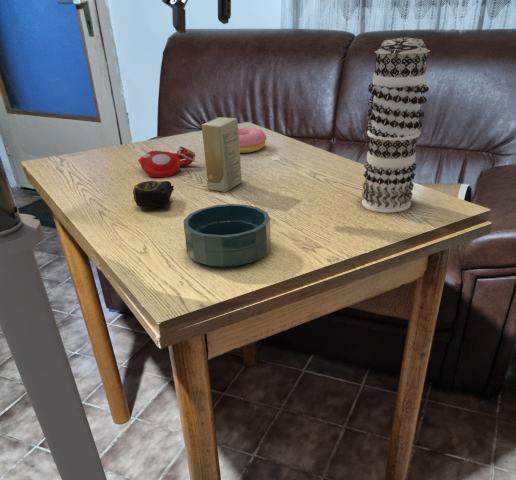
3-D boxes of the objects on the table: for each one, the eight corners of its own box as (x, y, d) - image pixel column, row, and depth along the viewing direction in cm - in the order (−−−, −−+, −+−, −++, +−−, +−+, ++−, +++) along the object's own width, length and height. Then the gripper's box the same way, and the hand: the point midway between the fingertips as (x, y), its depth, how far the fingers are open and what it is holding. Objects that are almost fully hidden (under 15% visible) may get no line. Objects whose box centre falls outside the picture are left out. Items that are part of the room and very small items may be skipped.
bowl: (189, 274, 72) (184, 240, 69) (186, 238, 82) (182, 208, 79) (276, 265, 73) (275, 231, 70) (263, 231, 83) (262, 200, 80)
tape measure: (170, 211, 92) (167, 190, 90) (132, 212, 92) (128, 192, 90) (175, 198, 97) (172, 178, 95) (139, 199, 97) (135, 179, 95)
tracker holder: (164, 175, 105) (127, 158, 108) (167, 192, 109) (130, 175, 112) (200, 147, 112) (163, 131, 115) (201, 164, 115) (166, 149, 118)
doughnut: (217, 145, 128) (216, 127, 125) (260, 140, 129) (260, 123, 127) (226, 156, 119) (224, 137, 116) (271, 151, 121) (271, 133, 118)
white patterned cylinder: (369, 216, 86) (385, 44, 72) (352, 197, 94) (363, 38, 79) (421, 210, 87) (446, 39, 73) (400, 192, 95) (419, 34, 80)
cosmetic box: (224, 180, 105) (219, 116, 98) (242, 182, 103) (238, 117, 96) (206, 190, 100) (200, 123, 93) (225, 193, 98) (219, 125, 91)
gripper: (149, -85, 82) (152, 26, 85) (226, -113, 75) (226, 8, 78) (178, -60, 88) (179, 42, 91) (250, -84, 82) (249, 27, 85)
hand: (201, 26), depth 85 cm, fingers open, 8 cm apart
